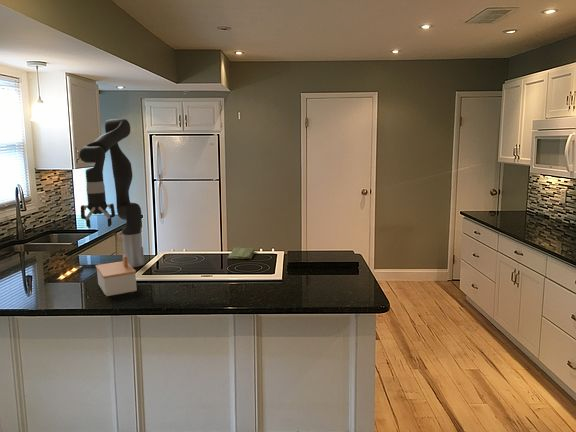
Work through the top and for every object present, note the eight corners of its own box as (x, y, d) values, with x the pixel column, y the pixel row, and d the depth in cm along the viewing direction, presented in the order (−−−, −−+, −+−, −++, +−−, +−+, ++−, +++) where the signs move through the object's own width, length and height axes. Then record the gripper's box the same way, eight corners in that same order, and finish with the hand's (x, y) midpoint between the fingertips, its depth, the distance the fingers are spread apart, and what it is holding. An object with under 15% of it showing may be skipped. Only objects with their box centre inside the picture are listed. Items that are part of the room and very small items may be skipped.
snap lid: (126, 264, 233) (125, 250, 232) (136, 275, 215) (135, 260, 214) (96, 269, 226) (94, 254, 225) (103, 280, 209) (102, 265, 207)
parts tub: (127, 279, 234) (125, 262, 232) (136, 290, 217) (135, 273, 215) (98, 284, 228) (96, 267, 226) (105, 296, 210) (104, 278, 209)
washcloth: (226, 260, 264) (226, 254, 263) (233, 252, 281) (233, 246, 280) (250, 260, 262) (250, 254, 262) (256, 252, 279) (256, 246, 279)
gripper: (113, 189, 224) (116, 224, 227) (80, 191, 221) (84, 226, 224) (111, 191, 217) (114, 227, 220) (77, 193, 214) (81, 229, 217)
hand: (99, 227), depth 222 cm, fingers open, 8 cm apart
